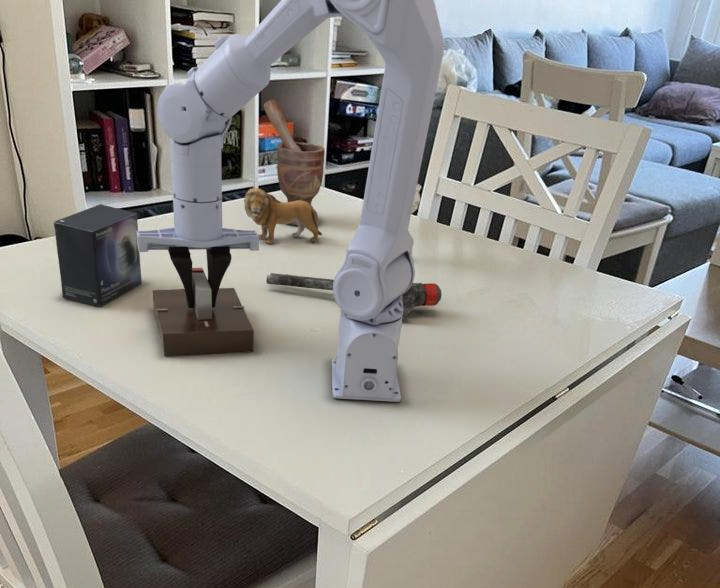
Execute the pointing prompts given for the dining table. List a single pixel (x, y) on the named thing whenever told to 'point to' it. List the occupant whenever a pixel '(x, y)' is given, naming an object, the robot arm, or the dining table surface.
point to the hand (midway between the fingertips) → (200, 304)
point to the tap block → (201, 325)
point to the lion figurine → (279, 214)
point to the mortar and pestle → (295, 161)
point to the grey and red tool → (412, 298)
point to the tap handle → (201, 294)
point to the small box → (98, 254)
